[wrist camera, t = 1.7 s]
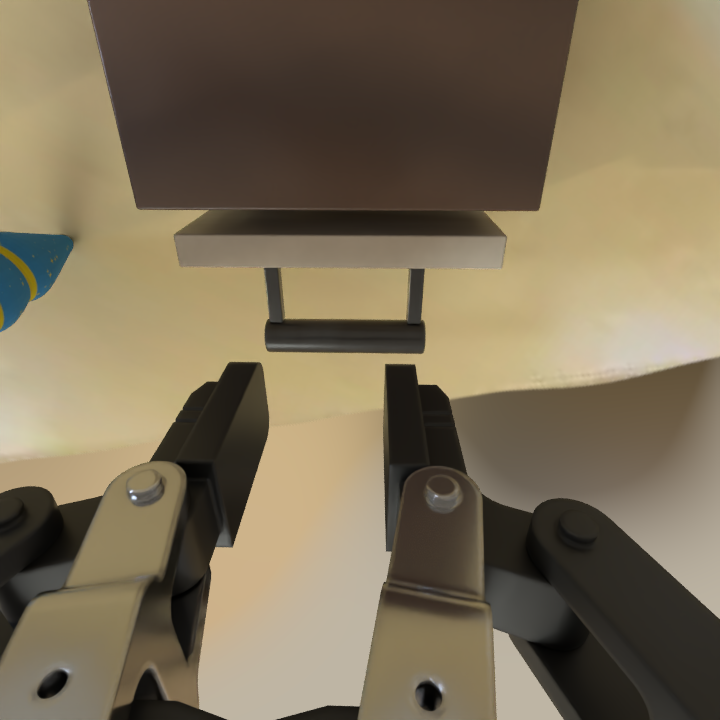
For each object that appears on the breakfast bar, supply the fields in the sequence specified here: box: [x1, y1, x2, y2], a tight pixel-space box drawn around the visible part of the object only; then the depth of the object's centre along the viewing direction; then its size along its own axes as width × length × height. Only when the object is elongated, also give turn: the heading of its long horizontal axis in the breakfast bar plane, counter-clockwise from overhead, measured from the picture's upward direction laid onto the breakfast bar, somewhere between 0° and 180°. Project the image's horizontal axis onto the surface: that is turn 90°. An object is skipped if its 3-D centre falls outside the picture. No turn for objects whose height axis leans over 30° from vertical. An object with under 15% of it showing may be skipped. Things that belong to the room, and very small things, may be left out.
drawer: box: [174, 210, 507, 354], centre depth 17 cm, size 18×12×7 cm, turn 0°
